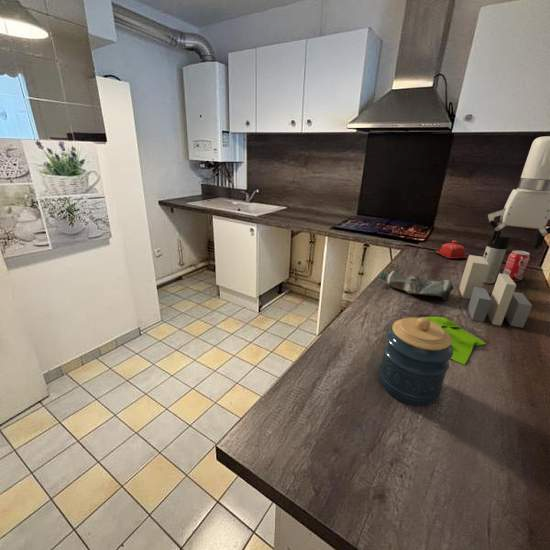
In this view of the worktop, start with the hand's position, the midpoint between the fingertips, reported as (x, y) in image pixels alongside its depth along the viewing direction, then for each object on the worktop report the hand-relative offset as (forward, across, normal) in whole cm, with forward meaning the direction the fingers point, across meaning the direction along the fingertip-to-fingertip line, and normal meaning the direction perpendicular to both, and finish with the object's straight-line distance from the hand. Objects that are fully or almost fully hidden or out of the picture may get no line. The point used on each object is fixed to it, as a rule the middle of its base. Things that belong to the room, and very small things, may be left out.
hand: (514, 245), depth 87 cm
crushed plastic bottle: (+24, +24, -7) cm, 35 cm away
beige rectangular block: (+24, +5, -15) cm, 29 cm away
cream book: (+24, -1, +1) cm, 24 cm away
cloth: (+24, +14, +22) cm, 36 cm away
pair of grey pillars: (+24, -1, +1) cm, 24 cm away
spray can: (+24, -2, -34) cm, 42 cm away
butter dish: (+24, +10, -63) cm, 68 cm away
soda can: (+24, -13, -43) cm, 51 cm away
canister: (+24, +21, +47) cm, 57 cm away
